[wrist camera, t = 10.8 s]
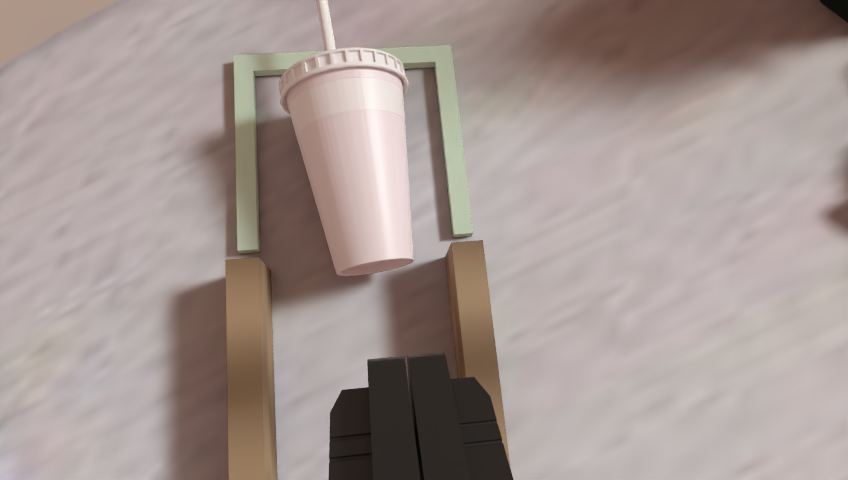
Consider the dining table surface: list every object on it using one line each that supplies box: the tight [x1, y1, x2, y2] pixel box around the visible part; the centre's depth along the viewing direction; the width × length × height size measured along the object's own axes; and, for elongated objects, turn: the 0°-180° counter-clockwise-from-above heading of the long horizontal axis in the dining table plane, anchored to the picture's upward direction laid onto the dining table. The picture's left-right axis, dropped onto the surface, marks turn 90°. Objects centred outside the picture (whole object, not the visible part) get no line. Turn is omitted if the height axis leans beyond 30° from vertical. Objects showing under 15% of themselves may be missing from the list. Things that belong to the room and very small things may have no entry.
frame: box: [234, 45, 473, 253], centre depth 32 cm, size 11×12×1 cm
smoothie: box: [279, 0, 414, 276], centre depth 30 cm, size 6×6×14 cm
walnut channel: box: [225, 240, 510, 480], centre depth 28 cm, size 12×12×3 cm
